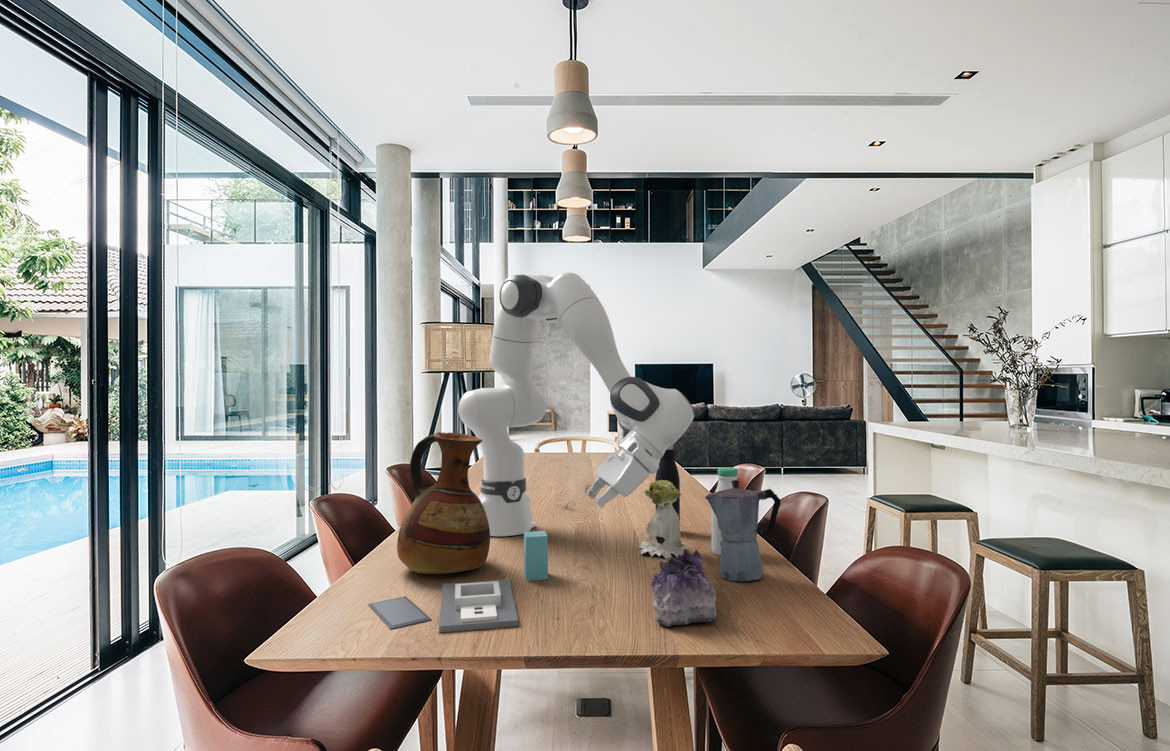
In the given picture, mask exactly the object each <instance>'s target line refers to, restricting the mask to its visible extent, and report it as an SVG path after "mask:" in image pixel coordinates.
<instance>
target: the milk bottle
mask: <svg viewBox="0 0 1170 751" xmlns="http://www.w3.org/2000/svg"><path fill="white" fill-rule="evenodd" d="M738 474H739V473H738V469H737V468H735V467H730V466H729V467H719V468H718V469H717V478H718V482H717V486H716V489H715V490H714V492H718V491H722V490H726V489H731V488H733V486H732V482H731V481H733V480H737V479H738ZM737 481H738V480H737ZM710 514H711V516H710V517H711V520H710V521H711V522H710V523H711V524H710V525H711V532H710V534H711V536H710V537H711V539H710V540H711V552H712V554H713V555H716V556H720V557H721V545H720V542H721V541H722V537H721V530H720V529H719V527H718V522H717V517H716V515H715V513H714V511H713V509H712V508H711V513H710Z"/></svg>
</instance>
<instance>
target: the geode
mask: <svg viewBox="0 0 1170 751" xmlns="http://www.w3.org/2000/svg"><path fill="white" fill-rule="evenodd" d="M658 563H659V568H660V570H659V571H658V572H656V574H653V576H652V579H651V582H650V585H651V588H652V592H653V610H654V614H655V621H656V622H657V623H660V624H661V625H662V626H664V627H665V628H670V627H673V626H681V625H690V624H692V623H693V624H694V623H695V624H696V623H697V624H699V623H711V622H716V621H717V618H718V615H717V614H718V613H717V608H716V607H717V606H716V600H717V591H716V589H715V588H714V587H713V585H712V584H711V583H710V582H709V578H708V575H707V574H706V572H705V570H704V568H703V556H702V555H701V554H700V552H699V551H698V550H695V551H694V552H692V554H691V553H690V552H688V551H686V550H684V552H683V554H682V555H679V554H678V557H674V556H673V555H672V557H670V558H668V561H665V562H664V561H658Z"/></svg>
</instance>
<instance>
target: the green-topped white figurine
mask: <svg viewBox="0 0 1170 751" xmlns="http://www.w3.org/2000/svg"><path fill="white" fill-rule="evenodd" d="M643 492H644V494H645V496H646V497H648V498H649V499H650V500H651V503H652V504H653V505H656V504H657V505H658V507H657V509H656V508H655V511H654V510H653V511H652V512H653V514H652V516H651V518H650V519H649V521H648V523H647V524H646V527H645V530H646V534H647V535H648V536H649V537H650V540H645V541H642V542H641V543H640V544H639V546H638V547H639V548H640V554H641V555H643V554H646V553H647V552H648V554H649V555H650V557H651V558H652V557H654V555H657V556H658V558H659V557H661V556H663V557H664V559H666V558H667V559H670V558H671V557H672V556H673V555H674V556H675V557H674V558H677V557H678V554H679V555H683V553H684V551H685V549H686V548H687V547H688V545H686V544H685V543H684V542H682V539H681V520H680V521H679V517H678V515H677V513H676V511H675V510H674V508H673V506H672V503H673V502H675V501H676V500H677V498H678V497H680V498H681V495H682V494H681V493H679V491H678V489H676V488H675V486H674V485H673V484H672V483H671V482H669V481H667V480H658V481H652V482H651V483H650V484H649V488H648V489H644V490H643ZM652 512H651V513H652Z"/></svg>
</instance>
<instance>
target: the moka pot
mask: <svg viewBox="0 0 1170 751" xmlns="http://www.w3.org/2000/svg"><path fill="white" fill-rule="evenodd" d="M731 482H732V486H733V488H731V489H726V490H722V491H718V492H715V491H714V492H711V493H708V494H707V495H705V496H704V499H705V500H707V502H708V504H709V505H710V507H711V509H713V511H714V513H715V515H716V517H717V522H718V527H719V529H720V530H721V537H722V541H721V542H720V545H721V556H720V564H719V565H720V566H719V576H720V577H721V578H722V579H725V580H728V581H731V582H752V581H757V580H760V579H762V578H763V577H764V568H763V563H762V558H761V554H760V548H759V543H758V540H757V537H758V536H757V535H758V531H757V529H758V528H759V527H758V526H759V525H758V523H759V510H760V508H759V507H760V501H764V500H767V499H772V500H773V505H772V510H771V514H770V517H769V518H770V519H769V523H768V527H767V529H764V530H760V531H759V532H760V534H761V536H764V535H765V536H767V535H771V534H773V532H774V527H775V524H776V522H777V521H776V519H777V516H778V514H779V510H780V507H781V503H782V501H781V498H779V497H778V495H777V494H776V493H775V492H774V491H773V490H772V489H771V488H767V489H764V490H763V489H762V490H751V489H745V488H740V487H739V483H740V481H739V480H733V481H731Z"/></svg>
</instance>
